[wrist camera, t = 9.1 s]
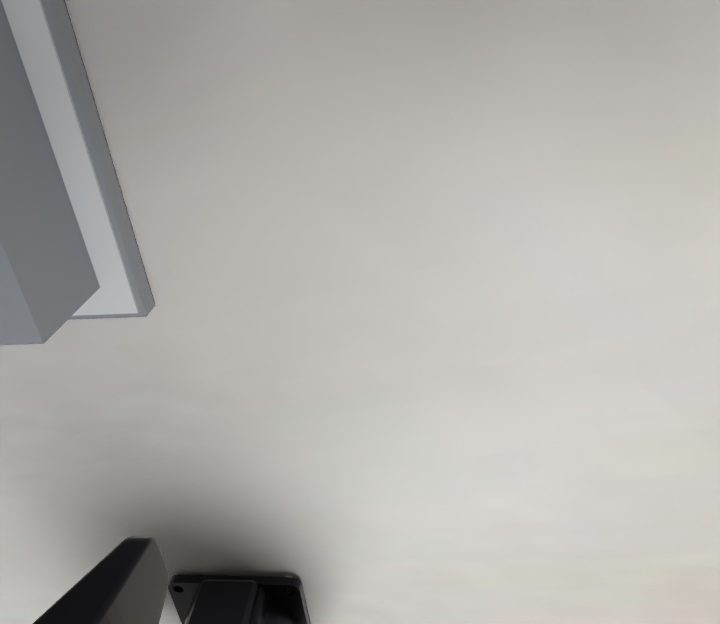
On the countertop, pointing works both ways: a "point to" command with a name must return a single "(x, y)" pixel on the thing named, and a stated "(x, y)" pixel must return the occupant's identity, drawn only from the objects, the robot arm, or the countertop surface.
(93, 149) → the dock
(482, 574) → the countertop surface
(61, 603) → the robot arm
